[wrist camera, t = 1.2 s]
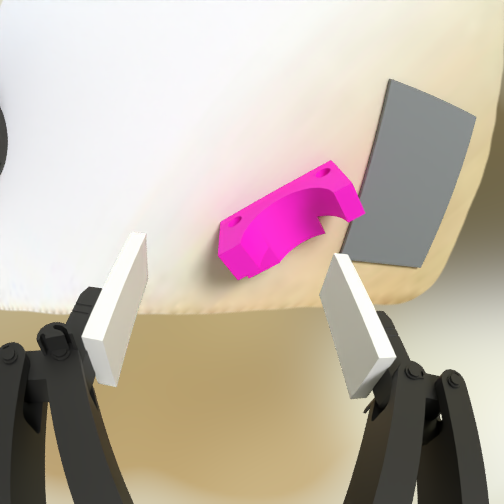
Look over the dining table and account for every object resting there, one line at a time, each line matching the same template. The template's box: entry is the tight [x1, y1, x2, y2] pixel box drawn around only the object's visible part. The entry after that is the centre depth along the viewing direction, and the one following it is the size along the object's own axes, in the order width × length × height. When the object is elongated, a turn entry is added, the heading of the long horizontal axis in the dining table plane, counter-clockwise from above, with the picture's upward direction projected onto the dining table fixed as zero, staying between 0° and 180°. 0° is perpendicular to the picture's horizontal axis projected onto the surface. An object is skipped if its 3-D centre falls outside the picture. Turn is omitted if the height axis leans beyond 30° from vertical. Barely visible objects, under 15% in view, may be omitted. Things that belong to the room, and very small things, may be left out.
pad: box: [340, 79, 476, 268], centre depth 36 cm, size 14×24×1 cm, turn 171°
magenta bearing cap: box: [218, 160, 365, 280], centre depth 35 cm, size 15×6×8 cm, turn 121°
